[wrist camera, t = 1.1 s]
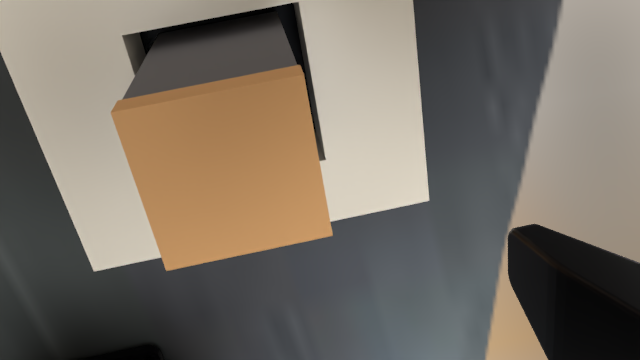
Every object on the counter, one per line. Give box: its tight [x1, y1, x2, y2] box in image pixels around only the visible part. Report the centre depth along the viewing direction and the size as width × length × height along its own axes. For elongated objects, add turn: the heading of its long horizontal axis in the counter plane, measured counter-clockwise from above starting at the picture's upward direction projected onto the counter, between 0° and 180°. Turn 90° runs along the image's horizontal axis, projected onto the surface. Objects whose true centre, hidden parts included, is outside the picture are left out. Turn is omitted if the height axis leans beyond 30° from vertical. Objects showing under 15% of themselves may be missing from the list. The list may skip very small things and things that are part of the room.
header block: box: [0, 0, 429, 271], centre depth 18 cm, size 12×10×3 cm
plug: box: [111, 11, 333, 271], centre depth 16 cm, size 4×4×8 cm
